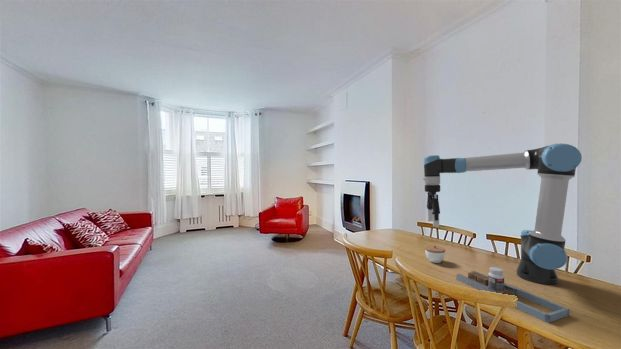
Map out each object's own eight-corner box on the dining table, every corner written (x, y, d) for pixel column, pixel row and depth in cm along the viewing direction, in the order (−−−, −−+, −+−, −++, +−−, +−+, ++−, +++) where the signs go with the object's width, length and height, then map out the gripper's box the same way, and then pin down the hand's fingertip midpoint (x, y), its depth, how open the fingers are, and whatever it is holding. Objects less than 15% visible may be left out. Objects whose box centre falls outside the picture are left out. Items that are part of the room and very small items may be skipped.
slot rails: (456, 279, 123) (456, 274, 123) (474, 275, 126) (474, 270, 126) (498, 299, 104) (498, 293, 104) (517, 293, 108) (517, 288, 107)
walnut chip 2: (476, 284, 117) (476, 276, 117) (482, 283, 118) (482, 275, 118) (485, 288, 113) (485, 280, 113) (491, 287, 114) (491, 278, 114)
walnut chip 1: (468, 280, 121) (468, 272, 121) (474, 279, 122) (474, 271, 122) (475, 284, 117) (475, 276, 117) (482, 283, 119) (482, 274, 118)
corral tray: (498, 299, 104) (498, 293, 104) (517, 294, 107) (517, 288, 107) (548, 322, 88) (548, 315, 87) (569, 315, 91) (569, 309, 91)
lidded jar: (448, 265, 141) (447, 248, 140) (427, 264, 143) (427, 247, 142) (442, 258, 151) (441, 243, 151) (423, 257, 153) (423, 242, 153)
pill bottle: (499, 295, 107) (499, 272, 106) (485, 289, 112) (485, 267, 112) (507, 292, 109) (507, 270, 109) (493, 287, 114) (493, 265, 114)
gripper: (420, 183, 146) (421, 219, 147) (429, 186, 122) (430, 229, 122) (434, 182, 144) (435, 219, 145) (446, 185, 120) (447, 229, 121)
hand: (433, 223), depth 134 cm, fingers open, 13 cm apart
